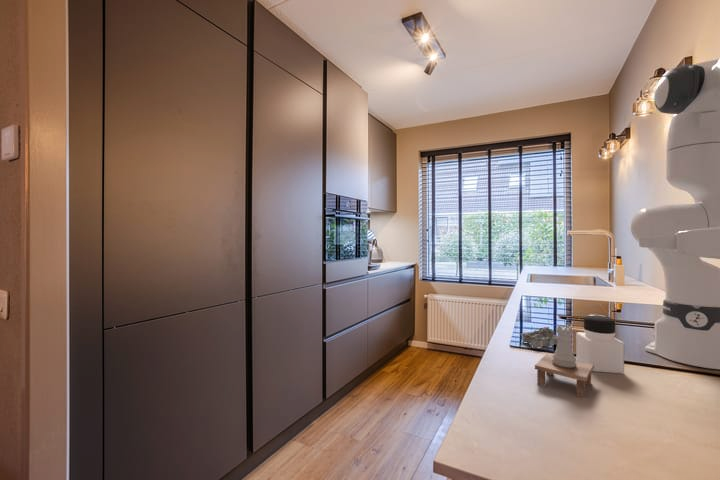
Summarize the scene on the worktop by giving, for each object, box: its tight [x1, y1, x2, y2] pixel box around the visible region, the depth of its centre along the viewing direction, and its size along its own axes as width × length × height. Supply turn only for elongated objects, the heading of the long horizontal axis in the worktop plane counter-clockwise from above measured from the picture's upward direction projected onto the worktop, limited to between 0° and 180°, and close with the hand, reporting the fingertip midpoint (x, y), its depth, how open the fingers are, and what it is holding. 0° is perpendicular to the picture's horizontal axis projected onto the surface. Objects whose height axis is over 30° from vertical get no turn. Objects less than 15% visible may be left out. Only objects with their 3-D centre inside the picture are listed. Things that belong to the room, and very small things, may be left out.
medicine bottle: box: [575, 314, 625, 374], centre depth 79 cm, size 7×7×12 cm
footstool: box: [534, 353, 594, 398], centre depth 70 cm, size 9×9×4 cm
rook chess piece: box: [552, 324, 577, 368], centre depth 70 cm, size 4×4×8 cm
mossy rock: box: [519, 326, 558, 349], centre depth 96 cm, size 11×8×4 cm
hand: (640, 241), depth 61 cm, fingers open, 8 cm apart
